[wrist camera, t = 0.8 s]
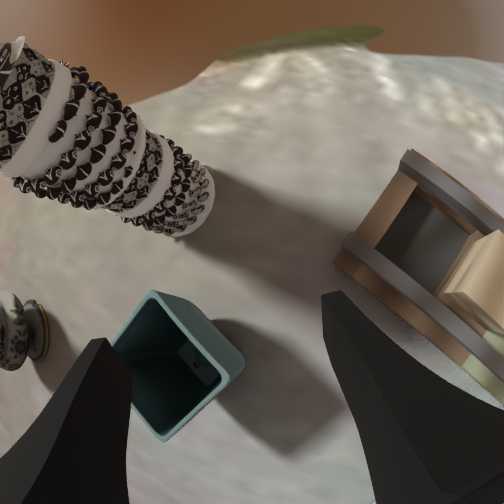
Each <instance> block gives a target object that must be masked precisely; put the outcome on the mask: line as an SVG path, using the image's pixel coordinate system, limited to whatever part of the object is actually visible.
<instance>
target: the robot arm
mask: <svg viewBox="0 0 504 504" xmlns="http://www.w3.org/2000/svg"><path fill="white" fill-rule="evenodd" d="M321 302H322V321H323V338H324V342H325V345H326V348H327V352H328V355H329V358H330V362H331V365H332V367H333V370H334V372H335V374H336V377H337V379H338V382H339V384H340V386H341V389H342V391H343V393H344V396H345V398H346V401H347V403H348V405H349V408H350V410H351V412H352V415H353V417H354V420H355V423H356V425H357V428H358V431H359V435H360V438H361V442H362V446H363V449H364V453H365V457H366V461H367V465H368V469H369V473H370V477H371V481H372V486H373V490H374V495H375V500H376V501H375V502H373V503H372V504H504V410H502V409H499V408H497V407H495V406H492V405H490V404H488V403H486V402H484V401H482V400H480V399H478V398H476V397H474V396H472V395H470V394H469V393H467V392H465V391H463V390H461V389H460V388H458V387H456V386H454V385H452V384H451V383H449V382H447V381H446V380H444V379H443V378H441V377H440V376H438V375H437V374H435V373H434V372H432V371H431V370H429V369H428V368H427V367H425V366H424V365H422V364H421V363H420V362H418V361H417V360H416V359H414V358H413V357H412V356H410V355H409V354H408V353H407V352H405V351H404V350H403V349H402V348H401V347H399V346H398V345H397V344H396V343H395V342H393V341H392V340H391V339H390V338H389V337H388V336H387V335H386V334H385V333H383V332H382V331H381V330H380V329H379V328H378V327H377V326H376V325H375V324H374V323H373V322H372V321H370V320H369V319H368V318H367V317H366V316H365V315H364V314H363V313H362V312H361V311H360V310H359V309H358V308H357V307H356V306H355V305H354V303H353V302H352V301H351V300H350V299H349V298H348V297H347V296H346V295H345V294H344V293H343V292H342V291H340V290H339V291H335V292H331V293H327V294H323V295H321ZM131 401H132V372H131V371H130V370H129V369H128V367H127V366H126V365H125V363H124V362H123V361H122V359H121V358H120V357H119V355H118V354H117V353H116V351H115V350H114V348H113V347H112V346H111V344H110V343H109V341H108V340H107V339H106V337H105V338H98V339H92V340H91V341H90V342H89V343H88V345H87V346H86V347H85V349H84V350H83V352H82V353H81V355H80V356H79V357H78V359H77V360H76V362H75V363H74V365H73V366H72V368H71V369H70V371H69V372H68V374H67V375H66V377H65V378H64V380H63V382H62V383H61V385H60V386H59V388H58V389H57V391H56V392H55V393H54V395H53V396H52V398H51V399H50V401H49V402H48V403H47V405H46V406H45V408H44V409H43V411H42V412H41V413H40V415H39V416H38V417H37V419H36V420H35V421H34V422H33V424H32V425H31V426H30V427H29V429H28V430H27V431H26V432H25V433H24V435H23V436H22V437H21V438H20V439H19V440H18V441H17V442H16V443H15V444H14V445H13V446H12V448H11V449H10V450H9V451H8V452H7V453H6V454H5V455H3V456H2V457H1V458H0V504H129V497H128V488H127V476H126V448H127V438H128V428H129V419H130V410H131Z"/></svg>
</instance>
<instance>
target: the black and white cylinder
mask: <svg viewBox="0 0 504 504" xmlns="http://www.w3.org/2000/svg"><path fill="white" fill-rule="evenodd" d="M24 40H25V37H24V36H22V37H19V38H18V39H17V40H15V41H14V42H11V43H0V174H1V175H4V176H6V177H12V184H13V186H14V187H16V188H19V189H20V191H21V192H23V193H28V192H30V191H32V192H33V193H35V195H36V196H37V197H38V198H44V197H45V196H46V195H47V197H48V198H49V199H51V200H53V199H56V198H58V201H59V202H60V203H63V204H65V203H68V202H69V201H70V202H71V204H72V206H73V207H75V208H79V207H83V208H86V209H87V210H91V209H98V208H104V209H106V210H107V211H108V212H109V213H111V214H114V215H116V216H120V217H121V219H122V221H123V222H124V223H128V222H130V221H132V223H133V225H134V226H140V225H142V226H143V228H144V229H145V230H148V231H151V230H153V232H154V233H162V234H164V235H168V236H174V237H179V236H183V235H187V234H190V233H192V232H193V231H194V230H196V229H197V228H198V227H200V226H201V225H202V224H203V223H204V221H205V220H206V218H207V217H208V215H209V214H210V212H211V211H212V207H213V203H214V199H215V195H216V193H215V185H214V180H213V178H212V176H211V175H210V173H209V171H208V170H207V169H206V168H205V167H203V166H201V165H200V164H199V161H198V160H194V161H193V162H190V160H191V159H192V155H191V154H183V149H182V148H181V147H179V146H175V147H174V142H173V141H172V140H171V139H166V140H165V138H164V136H162V135H158V134H156V133H154V132H152V131H150V130H148V129H146V128H145V126H144V124H143V122H142V120H141V118H140V116H139V115H137V114H136V113H135V112H133V111H132V109H131V108H130V107H129V106H124V107H123V106H122V103H121V101H120V100H119V99H118V96H117V94H116V93H109V92H107V89H106V87H104V86H103V85H102V83H101V82H94V83H92V82H89V83H87V81H88V79H89V74H88V72H86V68H85V67H83V66H80V67H73V68H71V69H67V68H66V67H68V65H69V63H67V62H66V63H65V65H64V66H66V67H64V66H63V65H62V64H63V61H61V62H60V63H59V62H57V61H55V60H51V59H49V60H47V59H46V58H45V57H44V56H43V55H42V54H39V53H38V52H37V51H36V50H33V49H31V48H29V47H28V46H27V45H26V44H25V43H24ZM74 78H76V79H77V81H76V80H75V79H74ZM94 92H95V93H94ZM107 102H108V103H107ZM21 177H23V178H25V179H27V183H26V182H24V179H23V178H21ZM45 186H46V187H47V189H44V187H45ZM61 192H63V193H61Z"/></svg>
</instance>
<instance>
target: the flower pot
mask: <svg viewBox="0 0 504 504" xmlns="http://www.w3.org/2000/svg"><path fill="white" fill-rule="evenodd" d="M110 344H111V346H112V347H113V348H114V350H115V351H116V353H117V354H118V355H119V357H120V358H121V359H122V361H123V362H124V363H125V365H126V366H127V367H128V369H129V370H130V371H131V372H132V401H131V407H132V409H133V410H134V411H135V412H136V413H137V415H138V416H139V417H140V418H141V420H142V421H143V422H144V423H145V425H146V426H147V427H148V428H149V429H150V431H151V432H152V433H153V434H154V436H155V437H156V438H158V439H159V440H160V441H161V442H166V441H168V440H169V439H170V438H171V437H172V436H173V435H175V434H176V433H177V432H178V431H179V430H180V429H181V428H182V427H184V426H185V425H186V424H187V423H188V422H189V421H190V420H191V419H193V418H194V417H195V416H196V415H197V414H198V413H199V412H200V411H201V410H202V409H203V408H204V407H205V406H207V405H208V404H209V403H210V402H211V401H212V400H213V399H214V398H215V397H216V396H217V395H218V394H219V393H220V392H221V391H222V390H223V389H224V388H225V387H226V386H227V385H228V384H229V383H230V382H231V381H233V380H234V379H235V378H236V377H237V376H238V375H239V374H240V373H241V372H242V371H243V369H244V368H245V366H246V360H245V357H244V356H243V355H242V353H241V352H240V351H239V350H238V349H237V348H236V347H235V346H234V345H233V344H232V343H231V342H230V341H229V340H228V339H227V338H226V337H225V336H224V335H223V334H222V333H221V332H220V331H219V330H218V329H217V328H216V327H215V326H214V324H213V323H212V322H211V321H210V320H209V319H208V318H207V317H206V316H205V315H204V314H203V312H202V311H201V310H200V309H199V308H198V307H197V306H195V305H194V304H193V303H191V302H190V301H188V300H186V299H183V298H180V297H177V296H173V295H169V294H165V293H162V292H158V291H155V290H151V291H149V292H148V293H147V294H146V295H145V296H144V298H143V299H142V300H141V302H140V303H139V305H138V306H137V307H136V309H135V310H134V312H133V313H132V315H131V316H130V317H129V318H128V320H127V321H126V323H125V324H124V326H123V327H122V328H121V330H120V331H119V333H118V334H117V335H116V337H115V338H114V339H113V340H112V342H111V343H110ZM196 362H198V363H199V367H196V366H195V363H196Z"/></svg>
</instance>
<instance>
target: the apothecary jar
mask: <svg viewBox="0 0 504 504" xmlns="http://www.w3.org/2000/svg"><path fill="white" fill-rule="evenodd" d="M48 345H49V328H48V322H47V318H46V315H45V312H44V310H43V308H42V306H41V305H40V304H36V303H35V300H28V301H27V302H26V303H25V304H24V306H23V305H22V304H21V302H20V300H19V299H18V298H17V297H16V295H14V294H13V293H12V292H10V291H7V290H2V291H0V367H1V368H3V369H4V370H7V371H14V370H17V369H19V368H20V367H21V366H22V365H23V363H24V361H25V359H26V357H27V355H28V356H29V358H31V359H32V360H34V361H41V360H42V359H43V358H44V357H45V355H46V353H47V350H48Z"/></svg>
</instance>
